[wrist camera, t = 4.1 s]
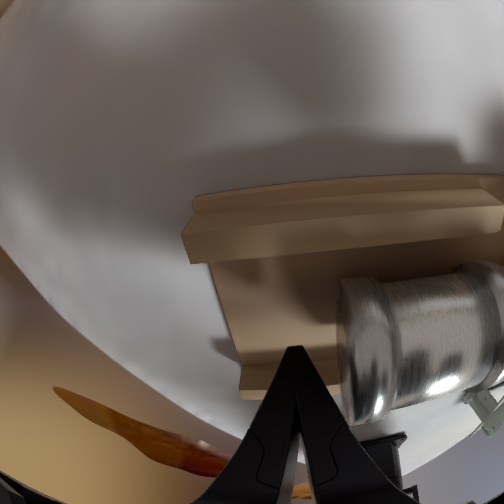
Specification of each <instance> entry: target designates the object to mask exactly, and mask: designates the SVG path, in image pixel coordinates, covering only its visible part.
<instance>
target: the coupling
mask: <svg viewBox="0 0 504 504" xmlns="http://www.w3.org/2000/svg"><path fill="white" fill-rule="evenodd" d="M336 348H337V364H338V376H339V386H340V394H341V401H342V407H343V412H344V416H345V419H346V422H347V424H348V425H349V426H354V425H361V424H367V423H372V422H378V421H382V420H384V419H385V418H386V417H387V416H388V414H389V412H390V410H394V409H399V408H403V407H407V406H411V405H415V404H419V403H423V402H427V401H430V400H434V399H437V398H440V397H444V396H447V395H450V394H453V393H456V392H459V391H462V390H464V391H466V392H469V393H477V392H481V391H483V390H485V389H488V388H490V387H492V386H495V385H497V384H499V383H501V382H502V381H504V268H503V267H502V266H501V265H500V264H498V263H496V262H494V261H491V260H481V261H474V262H468V263H463V264H460V265H459V266H457V267H456V268H455V269H454V270H453V271H452V272H451V274H445V275H439V276H432V277H426V278H419V279H412V280H405V281H397V282H390V283H382V284H380V283H379V281H378V280H377V279H376V278H375V277H374V276H364V277H355V278H345V279H340V280H339V283H338V286H337V293H336Z"/></svg>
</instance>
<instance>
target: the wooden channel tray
mask: <svg viewBox="0 0 504 504" xmlns="http://www.w3.org/2000/svg"><path fill="white" fill-rule="evenodd" d="M192 205H193V209H194V215H193V216H192V218H191V220H190V221H189V223H188V224H187V226H186V228H185V229H184V231H183V232H182V234H181V237H182V240H183V243H184V246H185V249H186V252H187V255H188V258H189V261H190V264H198V263H209V265H210V268H211V272H212V275H213V278H214V282H215V285H216V288H217V291H218V295H219V298H220V301H221V304H222V307H223V310H224V313H225V317H226V320H227V323H228V326H229V329H230V332H231V335H232V338H233V341H234V344H235V347H236V350H237V353H238V356H239V358H240V361H241V364H242V369H241V376H240V384H239V392H240V395H241V397H242V399H243V400H263V398H264V396H265V394H266V392H267V390H268V388H269V386H270V383H271V381H272V379H273V377H274V375H275V372H276V370H277V368H278V366H279V364H280V361H281V359H282V357H283V354H284V352H285V350H286V348H287V347H288V346H295V345H303V346H304V348H305V350H306V352H307V353H308V355H309V357H310V359H311V360H312V362H313V364H314V366H315V368H316V369H317V371H318V373H319V375H320V376H321V378H322V380H323V382H324V383H325V385H326V387H327V389H328V391H329V392H330V394H331V395H337V394H340V386H339V376H338V364H337V348H336V293H337V286H338V283H339V280H340V279H345V278H355V277H364V276H374V277H375V278H376V279H377V280H378V281H379V283H380V284H382V283H390V282H397V281H405V280H412V279H419V278H426V277H432V276H439V275H445V274H451V272H452V271H453V270H454V269H455V268H456V267H457V266H459V265H460V264H463V263H468V262H474V261H481V260H491V261H494V262H496V263H498V264H500V265H501V266H502V267H503V268H504V175H484V174H414V175H388V176H369V177H354V178H340V179H328V180H317V181H306V182H297V183H288V184H279V185H270V186H262V187H255V188H247V189H240V190H233V191H226V192H219V193H213V194H207V195H201V196H195V198H194V199H193V201H192Z"/></svg>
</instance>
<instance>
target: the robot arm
mask: <svg viewBox="0 0 504 504" xmlns="http://www.w3.org/2000/svg"><path fill="white" fill-rule="evenodd" d="M344 420H345V419H344V417H343V415H342V414H341V412H340V410H339V408H338V406H337V405H336V403H335V401H334V399H333V398H332V396H331V394H330V392H329V391H328V389H327V387H326V385H325V383H324V382H323V380H322V378H321V376H320V375H319V373H318V371H317V369H316V368H315V366H314V364H313V362H312V360H311V359H310V357H309V355H308V353H307V352H306V350H305V348H304V346H303V345H295V346H288V347H287V348H286V350H285V352H284V354H283V357H282V359H281V361H280V364H279V366H278V368H277V370H276V372H275V375H274V377H273V379H272V381H271V383H270V386H269V388H268V390H267V392H266V394H265V396H264V398H263V400H262V402H261V405H260V407H259V409H258V411H257V413H256V415H255V417H254V419H253V421H252V423H251V425H250V428H249V429H248V430H247V432H246V434H245V436H244V438H243V440H242V442H241V444H240V445H239V447H238V449H237V450H236V452H235V453H234V455H233V456H232V458H231V459H230V461H229V462H228V463H227V465H226V466H225V467H224V469H223V470H222V471H221V472H220V474H219V475H218V476H217V478H216V479H215V480H214V481H213V483H212V484H211V485H210V486H209V488H208V489H207V490H206V491H205V492H204V493H203V494H202V495H201V496H200V497H199V498H197V499H196V500H195V501H193V502H192V503H190V504H291V503H290V502H291V499H292V493H293V486H294V479H295V471H296V464H297V457H298V448H299V439H300V434H301V439H302V445H303V450H304V456H305V462H306V467H307V473H308V479H309V485H310V491H311V497H312V501H313V504H420V503H419V496H418V490H417V485H414V486H411V487H410V488H407V489H404V490H403V483H402V475H401V467H400V460H399V453H398V448H399V447H400V446H401V445H402V443H403V442H404V441H405V440H406V439H407V435H406V434H404V435H400V436H396V437H392V438H387V439H382V440H377V441H372V442H367V443H361V444H360V443H359V442H358V440H357V439H356V437H355V436H354V434H353V432H352V431H351V429H350V427H349V426H348V424H347V422H346V421H344ZM408 495H410V496H411V497H410V496H408ZM0 504H67V503H64V502H61V501H59V500H57V499H54V498H52V497H50V496H47V495H45V494H43V493H41V492H39V491H37V490H35V489H33V488H31V487H29V486H27V485H25V484H23V483H21V482H19V481H18V480H16V479H14V478H12V477H10V476H9V475H7V474H5V473H4V472H2V471H0ZM462 504H476V503H475V502H474V501H467V502H465V503H462ZM484 504H504V491H503V492H502V493H500V494H499V495H497V496H496V497H494V498H492V499H490V500H489V501H487V502H485V503H484Z"/></svg>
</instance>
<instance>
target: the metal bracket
mask: <svg viewBox="0 0 504 504" xmlns="http://www.w3.org/2000/svg"><path fill="white" fill-rule="evenodd" d="M463 402H464V403H465V404H468V403H469V404H470V406H471V407H472V409H473V410H474V411H475V413H476V414H477V416H478V417H479V418H480V420H481V421H482V423H481V424H480V425H479V426H478V427H477V428H476V429H475V430H474V431H473V432H472V433H471V435H470V436H469V437H471V436H472V435H473V434H475V433H476V432H477V431H478V430H479V429H480V428H482V430H483V431H484V432H485V434H486V436H488V437H492V436H493V435H494V434H496V433H497V431H498V429H499V428H500V426H501V424H502V422H503V420H504V396H503V397H502V398H501V400H500V401H499V402H498V403H497V401H496V400H495V399H494V397H493V396H492V395H491V394H490V392H489V391H488V390H487V389H485V390H483V391H481V392H477V393H469V392H467V394H466V395H465V396H464V397H463ZM491 429H492V430H493V431H491Z"/></svg>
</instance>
